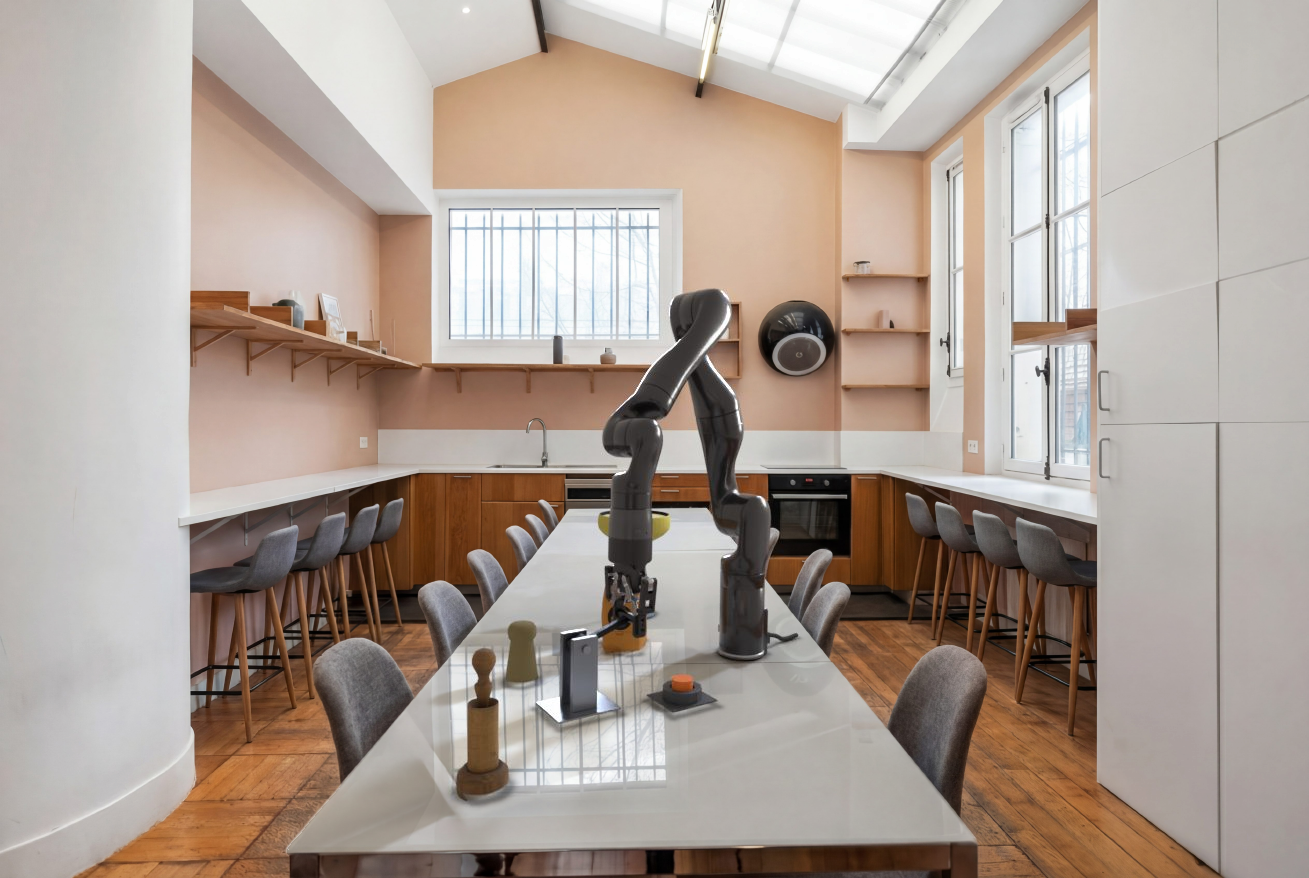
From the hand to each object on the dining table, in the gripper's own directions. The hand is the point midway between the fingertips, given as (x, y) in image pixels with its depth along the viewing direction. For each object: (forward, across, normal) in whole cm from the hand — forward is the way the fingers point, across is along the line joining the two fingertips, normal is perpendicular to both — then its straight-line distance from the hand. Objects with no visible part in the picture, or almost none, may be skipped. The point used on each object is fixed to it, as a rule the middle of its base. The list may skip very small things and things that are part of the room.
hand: (628, 631), depth 117 cm
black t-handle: (0, 0, +5) cm, 5 cm away
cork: (+12, +17, +12) cm, 24 cm away
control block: (+12, -6, -7) cm, 15 cm away
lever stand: (+12, 0, +9) cm, 15 cm away
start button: (+9, -6, -7) cm, 13 cm away
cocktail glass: (+12, +46, -29) cm, 55 cm away
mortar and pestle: (+12, -15, +30) cm, 36 cm away
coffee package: (+12, +25, -14) cm, 31 cm away
